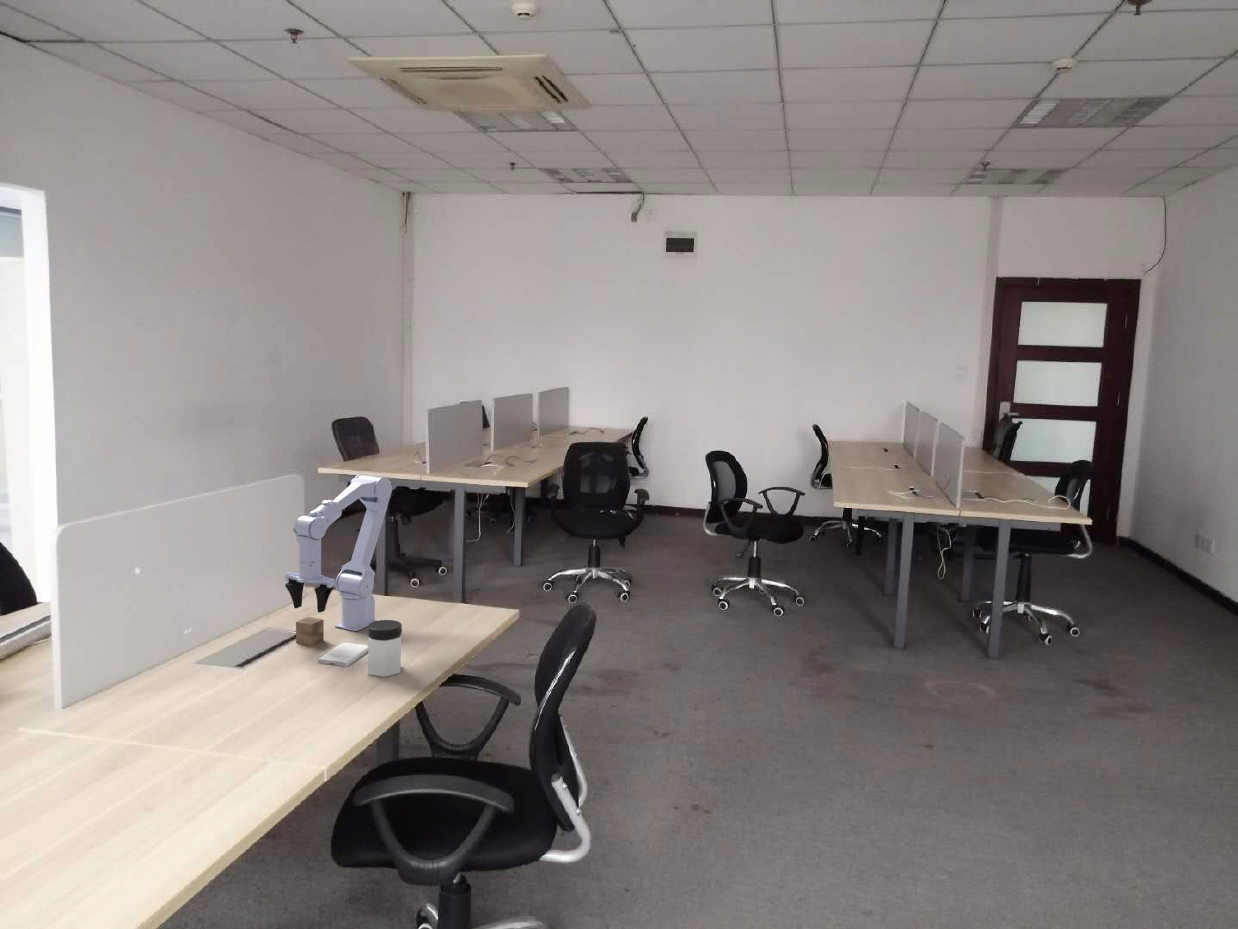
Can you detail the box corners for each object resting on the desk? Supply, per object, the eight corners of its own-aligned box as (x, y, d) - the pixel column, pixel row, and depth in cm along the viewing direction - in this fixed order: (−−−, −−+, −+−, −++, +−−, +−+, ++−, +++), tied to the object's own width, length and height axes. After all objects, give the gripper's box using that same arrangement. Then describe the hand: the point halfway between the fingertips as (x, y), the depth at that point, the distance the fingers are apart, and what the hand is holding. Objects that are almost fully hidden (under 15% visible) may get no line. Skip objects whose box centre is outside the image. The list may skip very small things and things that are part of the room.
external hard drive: (370, 651, 224) (346, 668, 212) (342, 648, 226) (317, 664, 214) (370, 645, 224) (346, 662, 212) (342, 642, 226) (317, 658, 214)
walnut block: (309, 637, 231) (309, 616, 230) (323, 640, 230) (323, 619, 229) (296, 643, 227) (295, 621, 226) (310, 646, 225) (310, 624, 224)
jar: (376, 680, 205) (376, 633, 203) (360, 669, 211) (360, 624, 209) (408, 671, 211) (409, 626, 209) (392, 661, 217) (393, 617, 215)
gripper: (277, 560, 222) (277, 609, 224) (322, 567, 218) (322, 617, 219) (295, 554, 229) (295, 602, 230) (339, 561, 224) (339, 610, 226)
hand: (309, 609), depth 225 cm, fingers open, 7 cm apart
